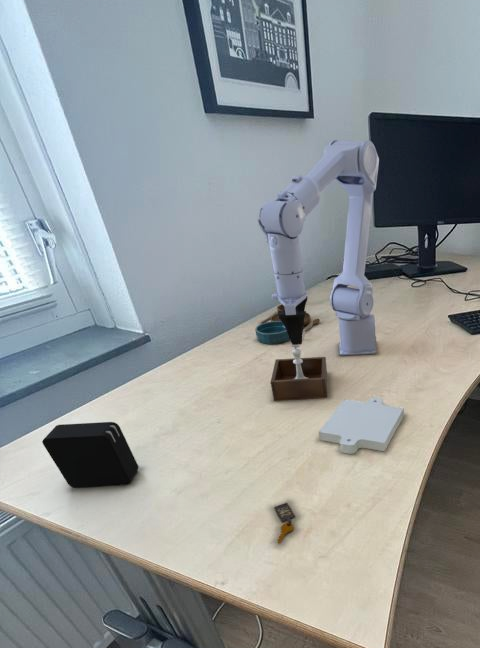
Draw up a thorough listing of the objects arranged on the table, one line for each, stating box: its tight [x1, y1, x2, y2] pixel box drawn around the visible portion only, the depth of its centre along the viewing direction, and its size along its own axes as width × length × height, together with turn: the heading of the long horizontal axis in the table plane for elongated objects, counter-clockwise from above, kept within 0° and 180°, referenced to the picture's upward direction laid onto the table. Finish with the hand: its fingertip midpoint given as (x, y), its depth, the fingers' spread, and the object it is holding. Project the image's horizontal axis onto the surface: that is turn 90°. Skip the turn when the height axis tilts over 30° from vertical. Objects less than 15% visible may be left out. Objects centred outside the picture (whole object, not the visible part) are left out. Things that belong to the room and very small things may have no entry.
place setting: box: [260, 303, 320, 332], centre depth 133 cm, size 18×20×6 cm
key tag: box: [273, 502, 296, 544], centre depth 65 cm, size 8×3×1 cm, turn 15°
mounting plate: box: [318, 396, 405, 455], centre depth 85 cm, size 18×13×2 cm
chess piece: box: [291, 344, 307, 379], centre depth 96 cm, size 5×5×10 cm
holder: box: [270, 356, 328, 402], centre depth 98 cm, size 12×12×4 cm
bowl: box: [254, 321, 290, 345], centre depth 122 cm, size 10×10×3 cm
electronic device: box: [41, 421, 139, 489], centre depth 71 cm, size 4×10×10 cm, turn 95°
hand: (297, 337), depth 96 cm, fingers open, 7 cm apart
